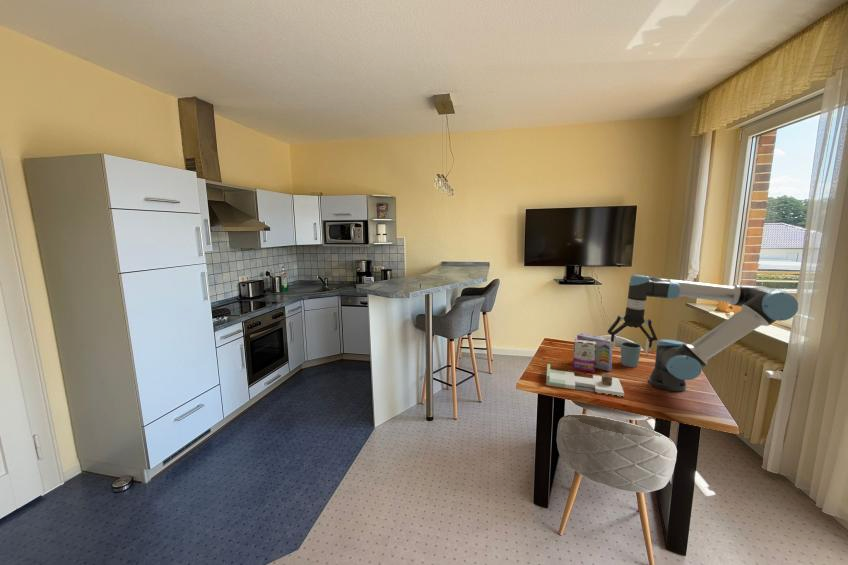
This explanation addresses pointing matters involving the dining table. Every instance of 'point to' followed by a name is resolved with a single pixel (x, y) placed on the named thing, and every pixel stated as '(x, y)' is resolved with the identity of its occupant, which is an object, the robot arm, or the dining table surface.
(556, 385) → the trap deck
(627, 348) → the drinking glass
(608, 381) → the walnut block
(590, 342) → the candy bar box
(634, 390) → the dining table surface
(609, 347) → the cake pan box
